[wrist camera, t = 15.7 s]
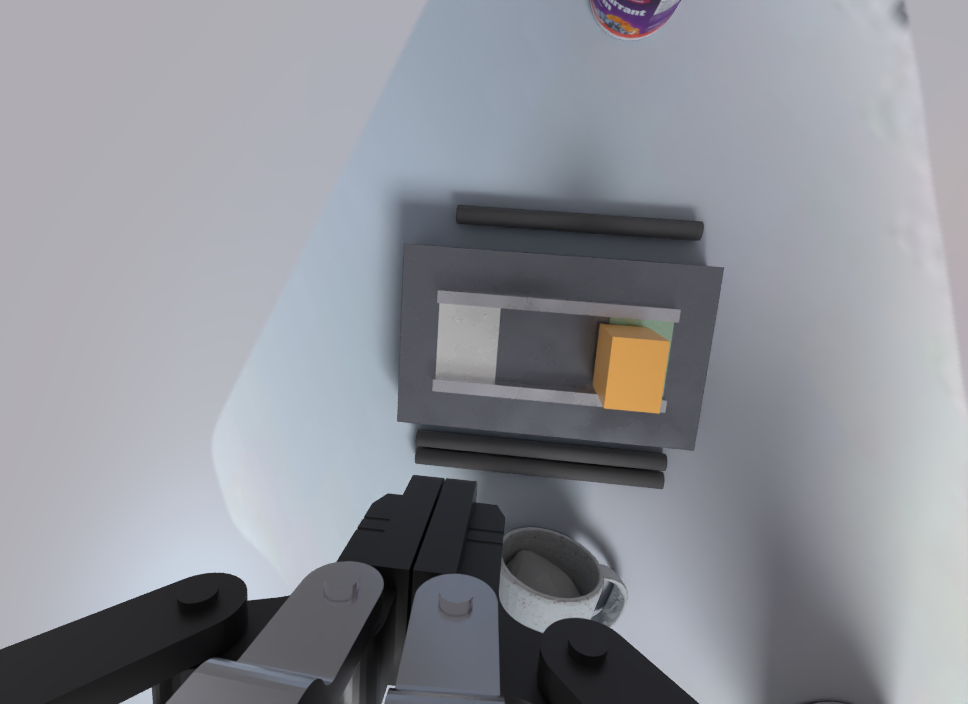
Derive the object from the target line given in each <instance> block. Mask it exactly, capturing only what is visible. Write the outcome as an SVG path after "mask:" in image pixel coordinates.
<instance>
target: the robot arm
mask: <svg viewBox="0 0 968 704" xmlns="http://www.w3.org/2000/svg"><path fill="white" fill-rule="evenodd" d="M476 496H477V481H467V480H458V479H448V478H446V480H445V479H444V478H438V477H428V476H419V475H413V476H412V478H411V480H410V482H409V484H408V486H407V488H406V490H405V492H404V494H403V495H397V494H386V495H385V496H383V497H382V498H380V499H379V500H377V501H375V502H374V503H372V505H371V506H370V508H369V510H368V511H367V513H366V515H365V516H364V519H362V521H361V523H360V524H359V526H358V529H357V530H356V531H355V532H354V534H353V536H352V537H351V539H350V541H349V542H348V544H347V546H346V547H345V549H344V550H343V552H342V554H341V555H340V557H339V559H338V560H337V562H335V563H331V564H327V565H324V566H322V567H320V568H317V569H316V570H314V571H312V572H311V573H310V574H308V575H307V576H306V577H305V578H304V579H303V580H302V582H301V583H300V584H299V585H298V587H297V588H296V589H295V590H294V592H293V593H292V594H291V595H290V596H284V597H278V598H269V599H259V600H251V601H247V587H246V584H245V583H244V581H242V580H241V579H240V578H238V577H237V576H234V575H231V574H226V573H206V574H201V575H196V576H192V577H189V578H186V579H183V580H180V581H178V582H175V583H173V584H170V585H167V586H165V587H162V588H160V589H157V590H154V591H152V592H149V593H147V594H144V595H141V596H139V597H136V598H133V599H131V600H128V601H126V602H123V603H120V604H118V605H115V606H113V607H110V608H107V609H105V610H102V611H100V612H97V613H95V614H92V615H89V616H87V617H84V618H81V619H79V620H76V621H74V622H71V623H68V624H66V625H63V626H61V627H58V628H55V629H53V630H50V631H48V632H45V633H42V634H40V635H37V636H35V637H32V638H30V639H27V640H24V641H21V642H19V643H16V644H14V645H11V646H8V647H6V648H3V649H1V650H0V704H119V703H121V702H123V701H125V700H127V699H129V698H131V697H133V696H135V695H137V694H139V693H141V692H143V691H145V690H147V689H149V688H151V687H152V696H153V704H381V703H382V700H383V697H384V694H385V691H386V688H387V685H393V686H395V688H389V690H388V693H387V696H386V699H385V703H384V704H699V703H698V702H697V701H695V700H694V699H693V698H692V697H691V696H690V695H689V694H687V693H686V692H685V691H684V690H683V689H682V688H680V687H679V686H678V685H677V684H676V683H675V682H674V681H672V680H671V679H670V678H669V677H668V676H667V675H665V674H664V673H663V672H662V671H661V670H660V669H659V668H657V667H656V666H655V665H654V664H653V663H652V662H650V661H649V660H648V659H647V658H646V657H645V656H643V655H642V654H641V653H640V652H639V651H638V650H637V649H635V648H634V647H633V646H632V645H631V644H630V643H628V642H627V641H626V640H625V639H624V638H623V637H622V636H620V635H619V634H618V633H617V632H615V631H614V630H613V629H611V628H609V627H608V626H606V625H604V624H601V623H599V622H596V621H593V620H590V619H585V618H566V619H561V620H558V621H556V622H554V623H552V624H551V625H549V626H548V627H547V628H546V629H545V631H544V632H543V633H542V632H539V631H536V630H534V629H531V628H529V627H527V626H525V625H523V624H521V623H519V622H518V621H516V620H515V619H514V618H512V617H511V616H510V615H509V614H508V613H507V612H506V610H505V609H504V607H503V606H502V604H501V602H500V598H499V584H500V572H501V560H502V549H503V537H504V525H505V517H504V515H503V514H502V512H501V511H500V509H499V508H498V506H497V505H491V504H481V503H476ZM813 704H846V703H839V702H818V703H813Z"/></svg>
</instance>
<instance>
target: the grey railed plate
mask: <svg viewBox="0 0 968 704" xmlns="http://www.w3.org/2000/svg"><path fill="white" fill-rule="evenodd" d="M456 222H457V223H458V224H472V225H486V226H500V227H514V228H529V229H543V230H557V231H571V232H585V233H600V234H614V235H628V236H642V237H657V238H671V239H685V240H700V239H701V237H702V234H703V229H704V225H703V222H700V221H685V220H670V219H656V218H641V217H626V216H611V215H597V214H582V213H567V212H552V211H538V210H523V209H508V208H493V207H479V206H464V205H458V206H457V212H456ZM416 446H423V447H432V448H442V449H452V450H462V451H472V452H482V453H492V454H502V455H511V456H521V457H531V458H541V459H551V460H561V461H571V462H581V463H590V464H600V465H610V466H620V467H630V468H640V469H650V470H660V471H665V470H666V468H667V456H666V454H660V453H650V452H640V451H630V450H620V449H610V448H600V447H590V446H579V445H569V444H559V443H549V442H539V441H529V440H519V439H509V438H499V437H489V436H478V435H468V434H458V433H448V432H438V431H428V430H418V431H417V435H416ZM415 463H416V464H425V465H435V466H444V467H454V468H464V469H473V470H483V471H493V472H502V473H512V474H521V475H531V476H541V477H550V478H560V479H570V480H579V481H589V482H599V483H608V484H618V485H628V486H637V487H647V488H656V489H663V487H664V474H663V472H657V471H647V470H637V469H627V468H618V467H608V466H598V465H588V464H578V463H568V462H558V461H549V460H539V459H529V458H519V457H509V456H499V455H489V454H479V453H470V452H460V451H450V450H440V449H430V448H420V447H417V449H416V454H415Z"/></svg>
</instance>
